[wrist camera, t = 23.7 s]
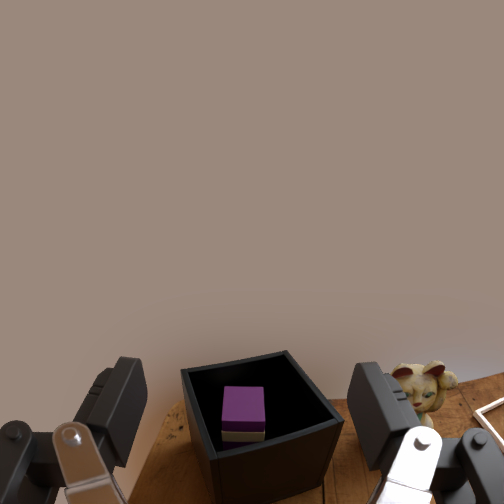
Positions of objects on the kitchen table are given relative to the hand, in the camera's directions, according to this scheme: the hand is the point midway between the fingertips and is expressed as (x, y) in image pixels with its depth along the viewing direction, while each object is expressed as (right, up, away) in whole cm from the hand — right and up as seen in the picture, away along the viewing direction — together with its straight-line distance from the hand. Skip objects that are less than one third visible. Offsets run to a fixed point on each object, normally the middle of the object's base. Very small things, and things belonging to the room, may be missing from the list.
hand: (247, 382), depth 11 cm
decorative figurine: (+19, -21, +23) cm, 37 cm away
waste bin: (0, -21, +21) cm, 30 cm away
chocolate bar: (-1, -20, +21) cm, 29 cm away
